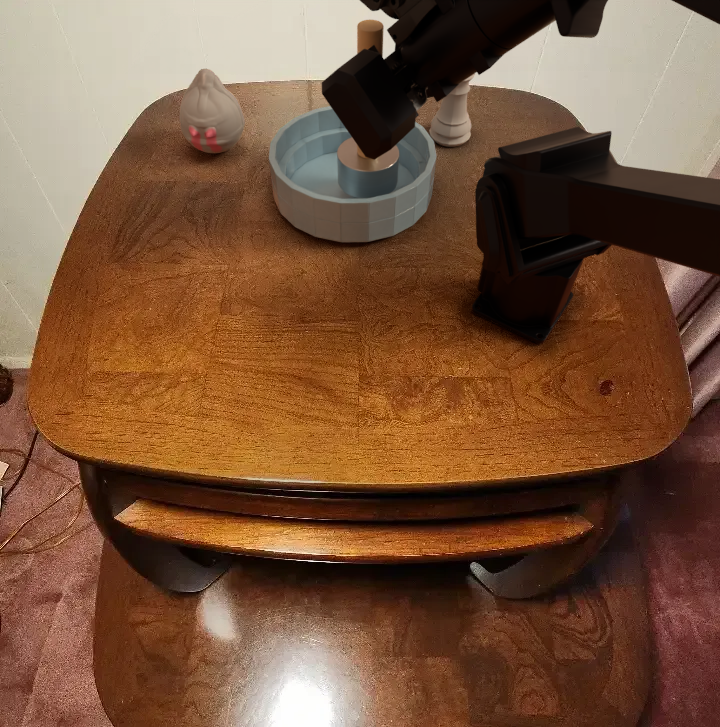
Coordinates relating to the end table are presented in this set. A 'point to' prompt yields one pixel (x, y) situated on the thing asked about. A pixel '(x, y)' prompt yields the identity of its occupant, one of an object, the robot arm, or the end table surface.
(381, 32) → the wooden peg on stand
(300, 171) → the bowl
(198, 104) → the figurine
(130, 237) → the end table surface
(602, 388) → the end table surface
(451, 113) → the rook chess piece
